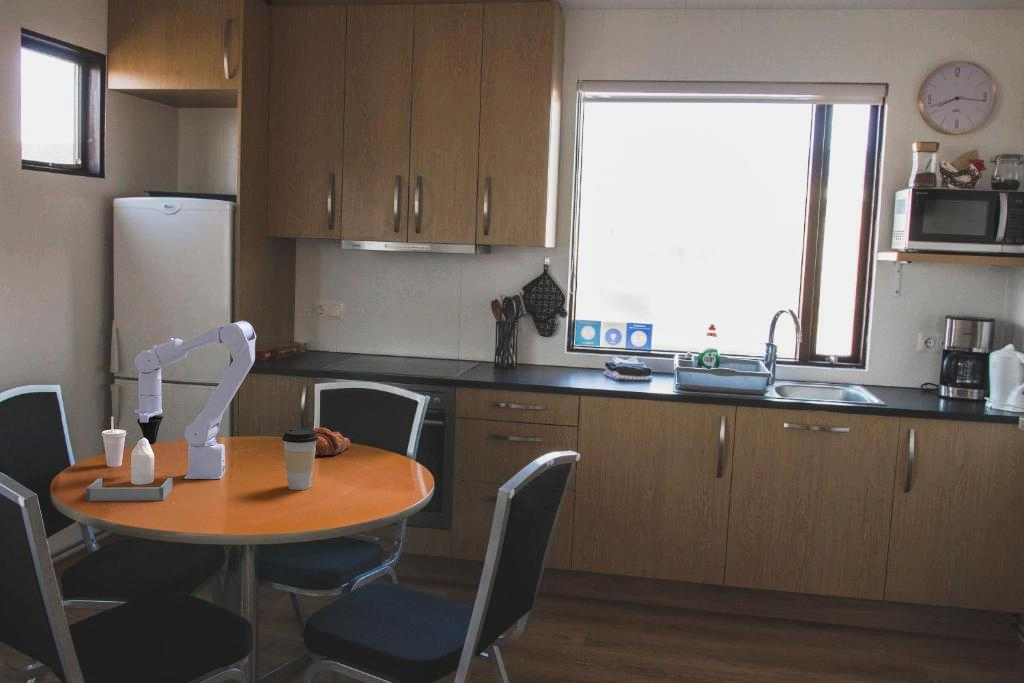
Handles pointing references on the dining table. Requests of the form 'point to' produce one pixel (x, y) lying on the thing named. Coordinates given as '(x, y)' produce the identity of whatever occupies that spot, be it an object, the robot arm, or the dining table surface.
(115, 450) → the smoothie
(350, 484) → the dining table surface
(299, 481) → the coffee cup
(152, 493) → the box
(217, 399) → the robot arm
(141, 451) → the white rounded-top container
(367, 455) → the dining table surface
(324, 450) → the pastry
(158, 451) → the dining table surface
